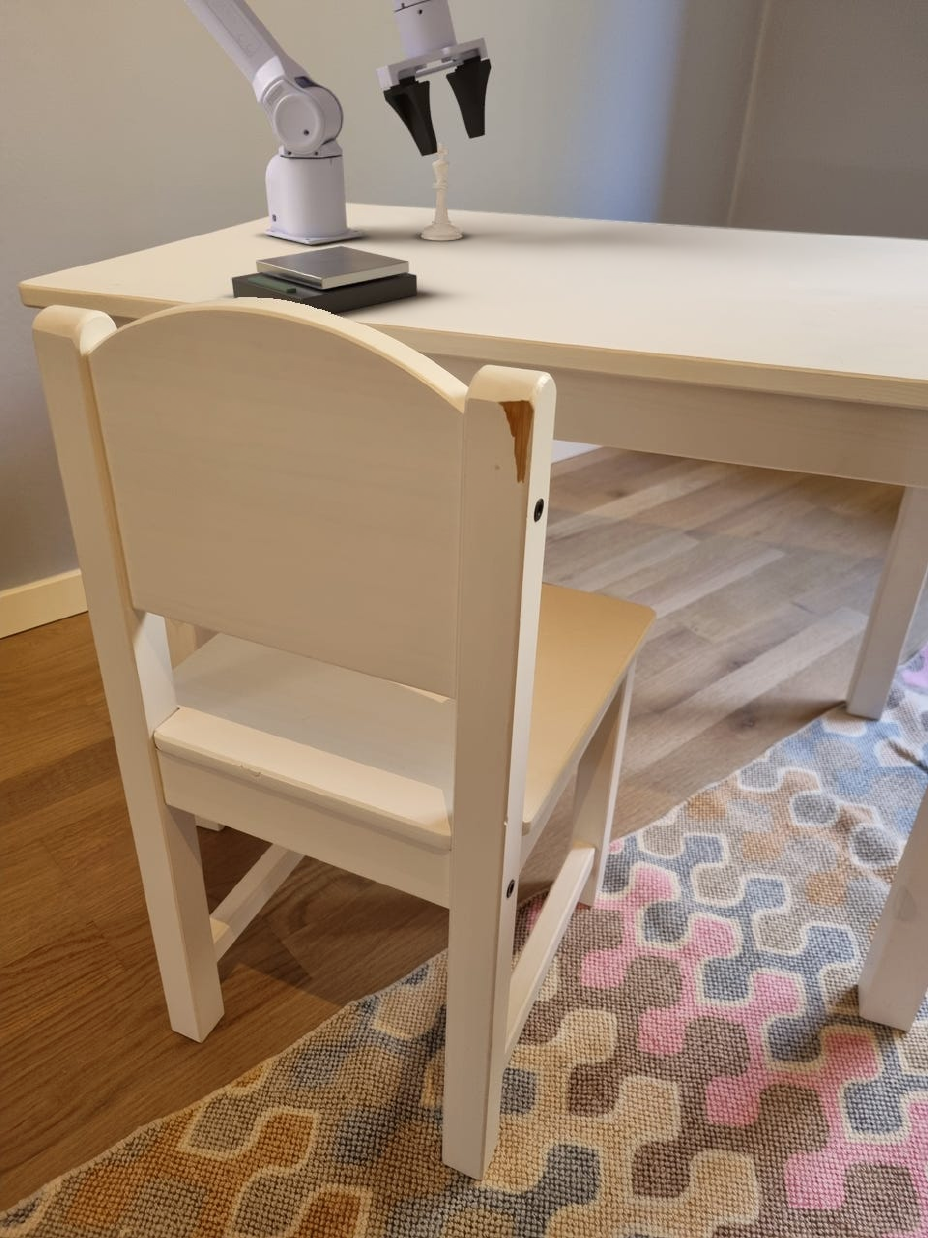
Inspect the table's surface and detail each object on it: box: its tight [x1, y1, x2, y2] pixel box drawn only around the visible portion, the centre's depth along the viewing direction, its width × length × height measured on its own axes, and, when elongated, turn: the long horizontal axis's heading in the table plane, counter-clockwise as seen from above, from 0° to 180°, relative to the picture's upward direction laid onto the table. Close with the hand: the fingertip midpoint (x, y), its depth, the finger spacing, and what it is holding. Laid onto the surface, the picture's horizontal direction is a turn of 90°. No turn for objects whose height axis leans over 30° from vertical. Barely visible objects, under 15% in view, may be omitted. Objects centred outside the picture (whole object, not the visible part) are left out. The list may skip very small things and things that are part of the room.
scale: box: [230, 272, 418, 314], centre depth 85 cm, size 11×13×2 cm
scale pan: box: [255, 245, 410, 290], centre depth 85 cm, size 10×10×1 cm
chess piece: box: [420, 142, 463, 242], centre depth 108 cm, size 5×5×10 cm
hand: (453, 145), depth 104 cm, fingers open, 7 cm apart
